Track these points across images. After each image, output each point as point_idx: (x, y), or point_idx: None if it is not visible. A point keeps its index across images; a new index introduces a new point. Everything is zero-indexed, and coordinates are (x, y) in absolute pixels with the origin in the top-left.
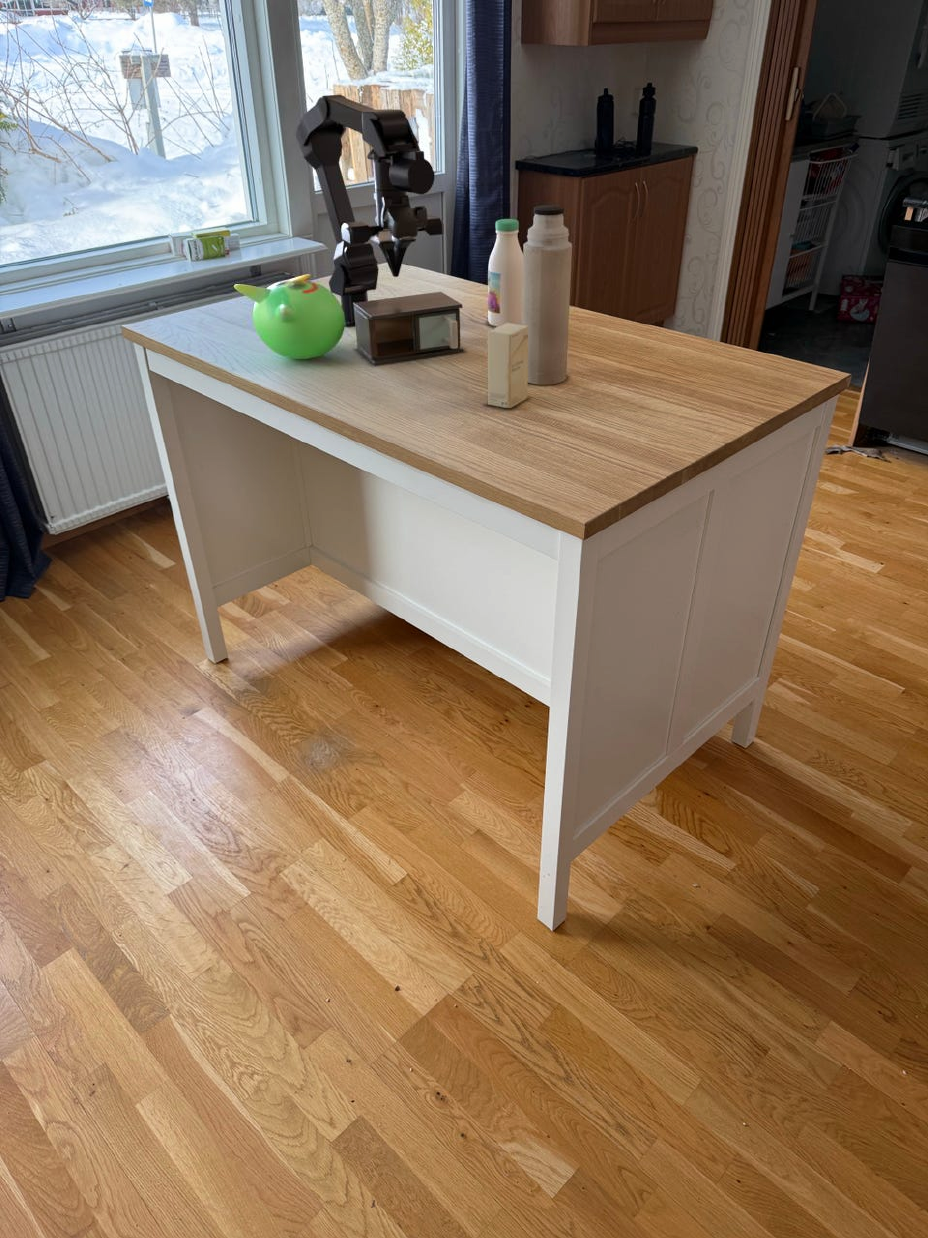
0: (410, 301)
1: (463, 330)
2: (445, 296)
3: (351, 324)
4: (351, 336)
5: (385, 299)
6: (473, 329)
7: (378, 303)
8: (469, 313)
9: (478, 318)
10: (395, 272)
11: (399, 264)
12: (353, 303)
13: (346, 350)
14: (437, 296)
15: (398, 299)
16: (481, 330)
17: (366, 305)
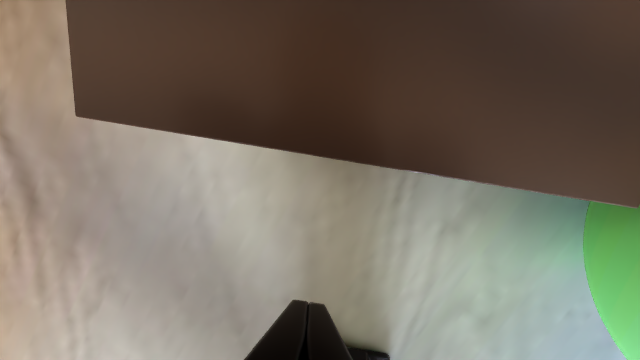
0: (354, 12)
1: (95, 123)
2: None
3: (375, 353)
4: (429, 275)
5: (450, 161)
6: (58, 113)
7: (545, 101)
8: (17, 265)
9: (5, 207)
10: (319, 317)
11: (273, 356)
12: (635, 205)
13: None
14: (138, 16)
15: (388, 111)
16: (35, 85)
17: (632, 105)
